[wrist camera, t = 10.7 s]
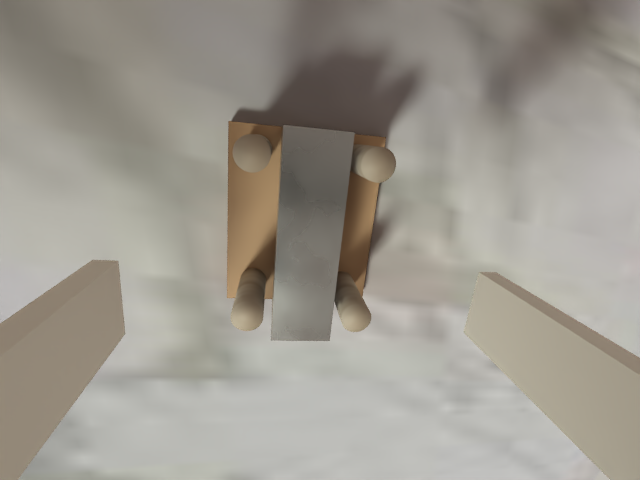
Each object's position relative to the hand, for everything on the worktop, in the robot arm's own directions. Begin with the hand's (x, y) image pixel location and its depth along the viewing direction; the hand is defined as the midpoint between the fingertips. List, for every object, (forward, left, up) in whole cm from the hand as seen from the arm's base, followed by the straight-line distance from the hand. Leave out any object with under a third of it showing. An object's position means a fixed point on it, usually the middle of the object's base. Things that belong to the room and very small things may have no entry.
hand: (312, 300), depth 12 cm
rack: (0, 0, -12) cm, 12 cm away
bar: (0, 0, -11) cm, 11 cm away
